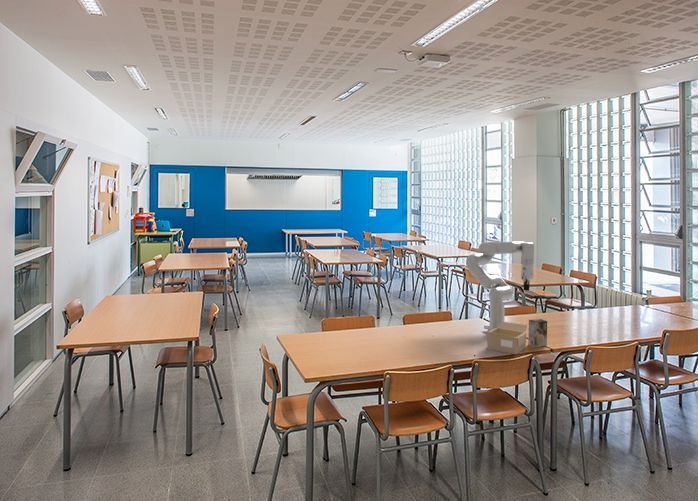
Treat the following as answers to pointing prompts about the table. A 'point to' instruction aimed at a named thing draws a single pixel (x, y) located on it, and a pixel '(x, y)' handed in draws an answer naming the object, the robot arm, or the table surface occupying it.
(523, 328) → the far flap
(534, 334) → the coffee box
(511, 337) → the near flap
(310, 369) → the table surface
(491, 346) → the carton
